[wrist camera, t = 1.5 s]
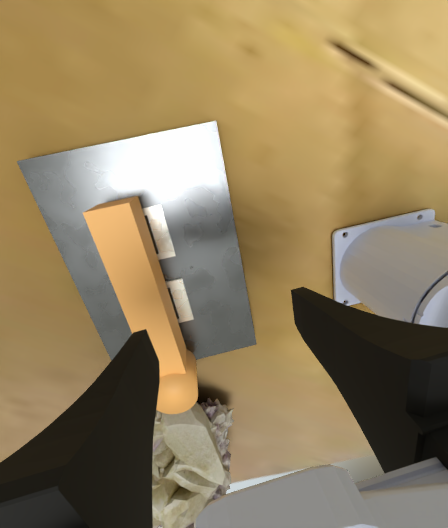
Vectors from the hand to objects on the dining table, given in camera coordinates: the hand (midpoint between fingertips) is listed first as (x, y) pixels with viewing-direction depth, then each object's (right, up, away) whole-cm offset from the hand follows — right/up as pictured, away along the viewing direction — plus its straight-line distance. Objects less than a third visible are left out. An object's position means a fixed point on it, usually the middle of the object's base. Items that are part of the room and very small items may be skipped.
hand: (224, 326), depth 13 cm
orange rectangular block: (-5, 0, +8) cm, 10 cm away
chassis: (-5, +3, +9) cm, 11 cm away
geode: (-5, -15, +17) cm, 24 cm away
